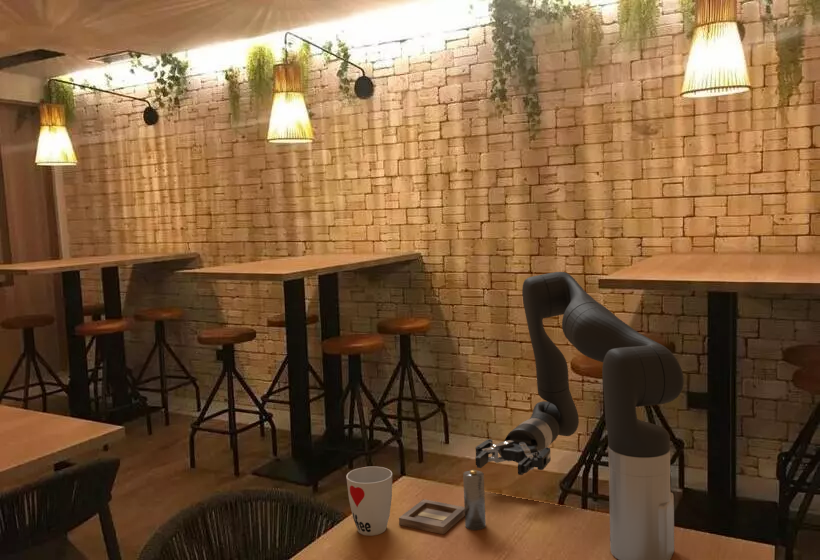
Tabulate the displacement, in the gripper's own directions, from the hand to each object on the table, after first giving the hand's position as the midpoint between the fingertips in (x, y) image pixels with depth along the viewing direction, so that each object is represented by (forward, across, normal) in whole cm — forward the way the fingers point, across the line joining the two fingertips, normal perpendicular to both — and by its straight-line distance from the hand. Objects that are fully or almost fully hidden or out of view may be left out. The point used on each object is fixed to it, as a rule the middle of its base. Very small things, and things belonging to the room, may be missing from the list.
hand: (498, 466), depth 131 cm
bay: (+12, -8, +7) cm, 16 cm away
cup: (+20, -16, +7) cm, 27 cm away
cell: (+11, 0, +7) cm, 13 cm away
